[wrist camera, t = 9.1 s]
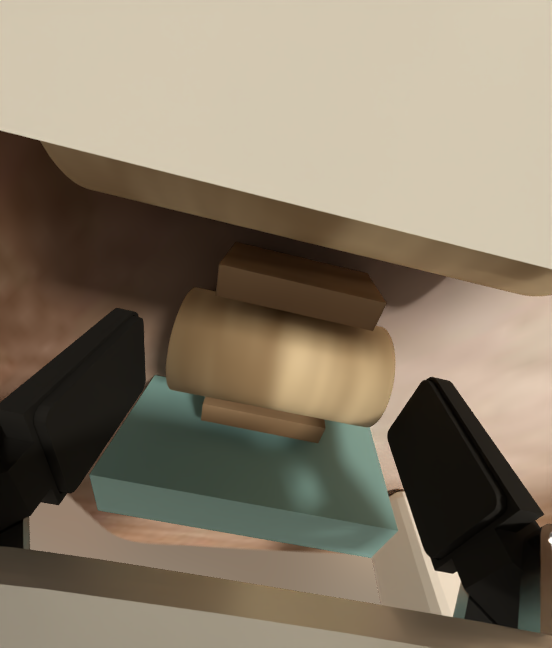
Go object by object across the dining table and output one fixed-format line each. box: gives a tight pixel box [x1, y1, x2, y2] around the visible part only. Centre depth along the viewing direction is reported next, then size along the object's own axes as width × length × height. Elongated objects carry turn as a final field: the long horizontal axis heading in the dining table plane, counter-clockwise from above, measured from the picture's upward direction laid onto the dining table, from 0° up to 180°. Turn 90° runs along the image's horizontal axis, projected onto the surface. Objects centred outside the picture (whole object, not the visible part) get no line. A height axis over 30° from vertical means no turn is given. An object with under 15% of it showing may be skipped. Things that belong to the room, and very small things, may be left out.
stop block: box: [89, 375, 398, 558], centre depth 12 cm, size 2×11×5 cm, turn 78°
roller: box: [166, 287, 395, 427], centre depth 10 cm, size 7×4×4 cm, turn 78°
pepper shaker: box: [372, 491, 461, 617], centre depth 14 cm, size 4×4×10 cm
